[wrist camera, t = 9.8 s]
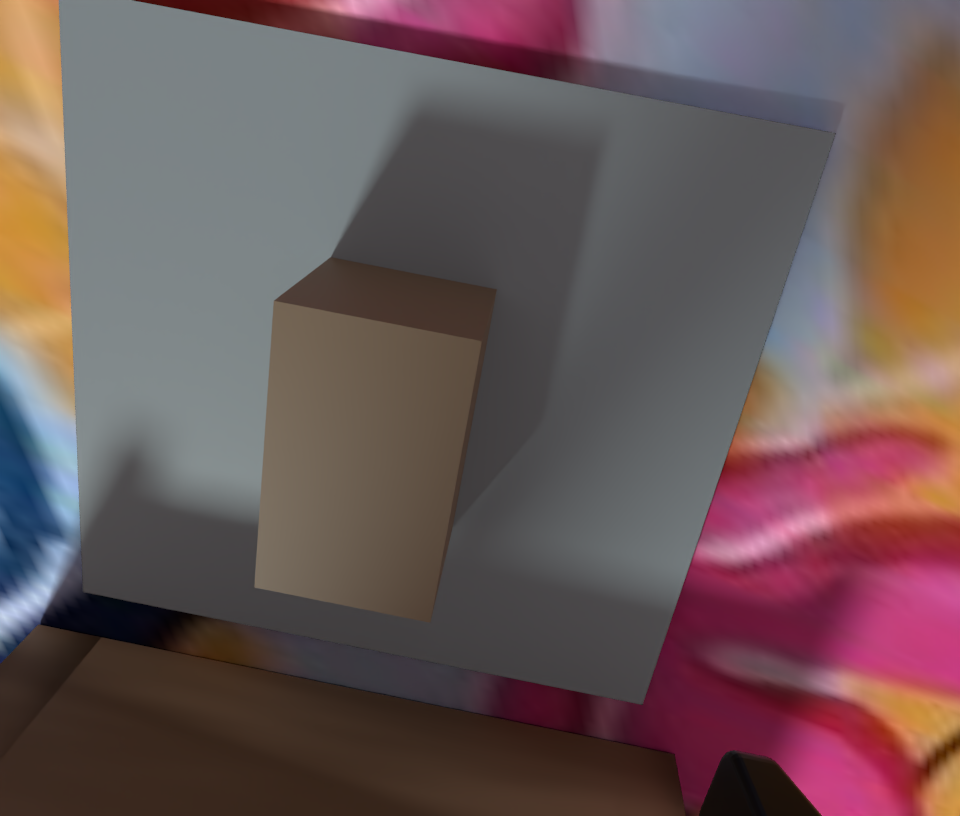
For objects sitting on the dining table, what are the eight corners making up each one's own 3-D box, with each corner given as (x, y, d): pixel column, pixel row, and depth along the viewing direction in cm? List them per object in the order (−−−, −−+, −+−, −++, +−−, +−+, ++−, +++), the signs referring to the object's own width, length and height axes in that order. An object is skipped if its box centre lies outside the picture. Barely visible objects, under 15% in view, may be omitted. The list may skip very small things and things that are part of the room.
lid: (637, 672, 18) (658, 825, 14) (107, 565, 18) (-8, 689, 14) (816, 129, 13) (917, 147, 9) (92, -7, 13) (-86, -43, 10)
